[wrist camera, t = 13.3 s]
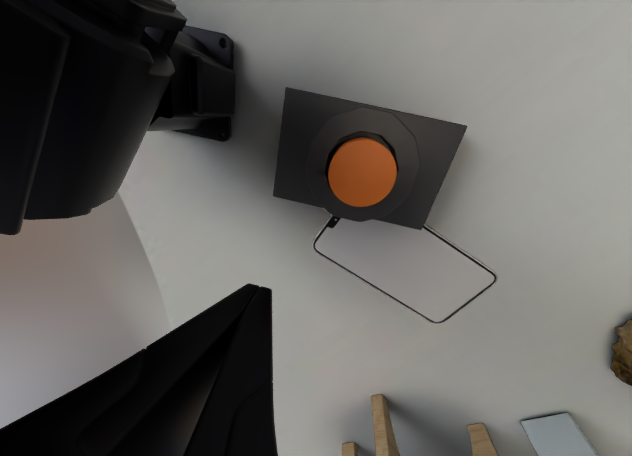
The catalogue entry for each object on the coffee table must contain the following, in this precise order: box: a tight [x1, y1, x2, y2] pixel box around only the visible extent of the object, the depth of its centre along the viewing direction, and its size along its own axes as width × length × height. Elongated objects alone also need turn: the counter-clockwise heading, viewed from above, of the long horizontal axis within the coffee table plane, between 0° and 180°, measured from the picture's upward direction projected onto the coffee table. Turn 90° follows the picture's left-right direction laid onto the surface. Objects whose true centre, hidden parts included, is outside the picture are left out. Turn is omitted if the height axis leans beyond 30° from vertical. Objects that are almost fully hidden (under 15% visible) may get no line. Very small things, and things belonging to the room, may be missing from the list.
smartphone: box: [312, 215, 497, 323], centre depth 20 cm, size 7×1×15 cm
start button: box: [328, 137, 397, 207], centre depth 13 cm, size 4×4×2 cm
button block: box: [273, 87, 467, 230], centre depth 15 cm, size 11×7×4 cm, turn 79°
